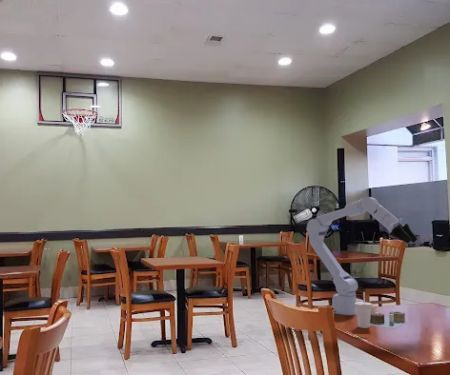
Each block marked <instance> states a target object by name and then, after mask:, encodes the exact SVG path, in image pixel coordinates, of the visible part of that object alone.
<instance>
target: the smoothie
mask: <svg viewBox="0 0 450 375" xmlns="http://www.w3.org/2000/svg"><path fill="white" fill-rule="evenodd" d="M362 294H363V301H356V303H355V305H354V306H355V307H356V314H355V315H356V318H357V319H356V320H357V327H359V328H360V329H361V328H362V329H368V328H370V327H371V325H370V317H371V313H372V308H373V303H372V302H368V301H366V292H365V291H363V293H362Z"/></svg>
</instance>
